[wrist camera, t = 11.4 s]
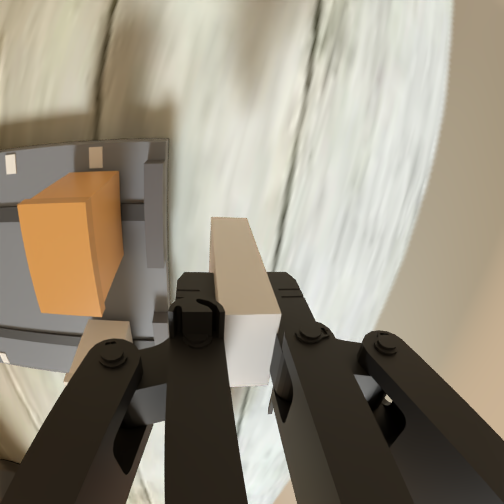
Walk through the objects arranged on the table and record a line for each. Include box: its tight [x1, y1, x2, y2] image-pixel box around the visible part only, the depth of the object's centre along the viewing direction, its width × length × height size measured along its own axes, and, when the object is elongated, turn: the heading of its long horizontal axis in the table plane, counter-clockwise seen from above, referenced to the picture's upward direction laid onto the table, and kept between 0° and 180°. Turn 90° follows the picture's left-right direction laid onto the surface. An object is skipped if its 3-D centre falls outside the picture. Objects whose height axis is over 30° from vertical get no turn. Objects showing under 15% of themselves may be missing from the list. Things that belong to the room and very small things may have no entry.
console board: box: [0, 139, 170, 373], centre depth 18 cm, size 20×18×3 cm
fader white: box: [63, 319, 133, 386], centre depth 18 cm, size 3×5×6 cm, turn 174°
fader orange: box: [17, 171, 124, 317], centre depth 14 cm, size 3×5×6 cm, turn 174°
